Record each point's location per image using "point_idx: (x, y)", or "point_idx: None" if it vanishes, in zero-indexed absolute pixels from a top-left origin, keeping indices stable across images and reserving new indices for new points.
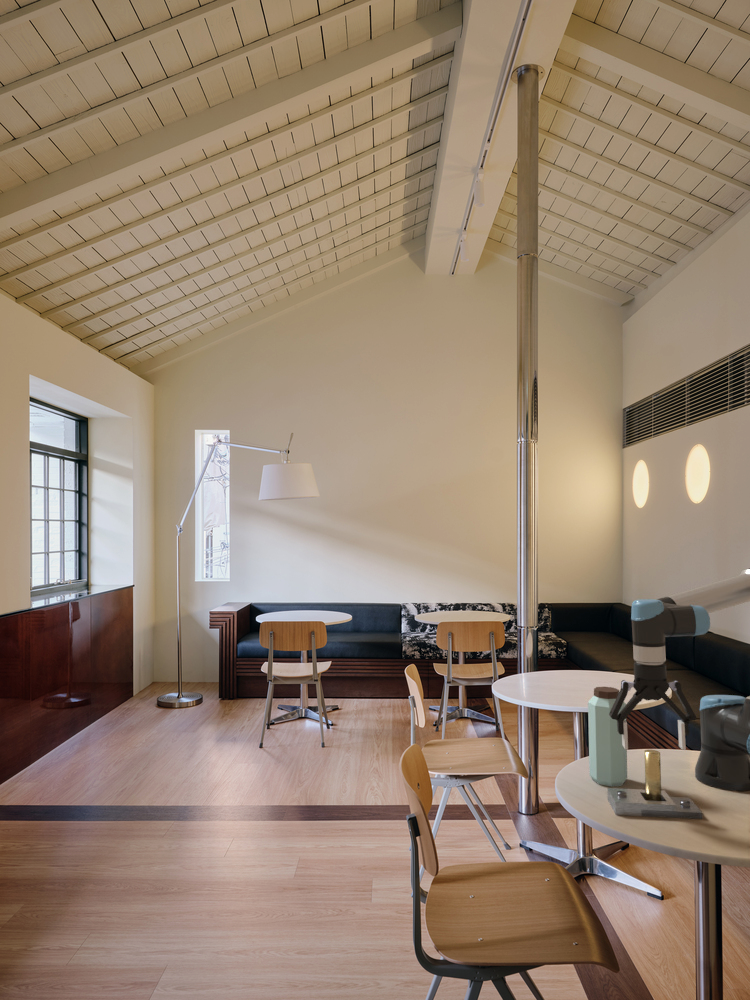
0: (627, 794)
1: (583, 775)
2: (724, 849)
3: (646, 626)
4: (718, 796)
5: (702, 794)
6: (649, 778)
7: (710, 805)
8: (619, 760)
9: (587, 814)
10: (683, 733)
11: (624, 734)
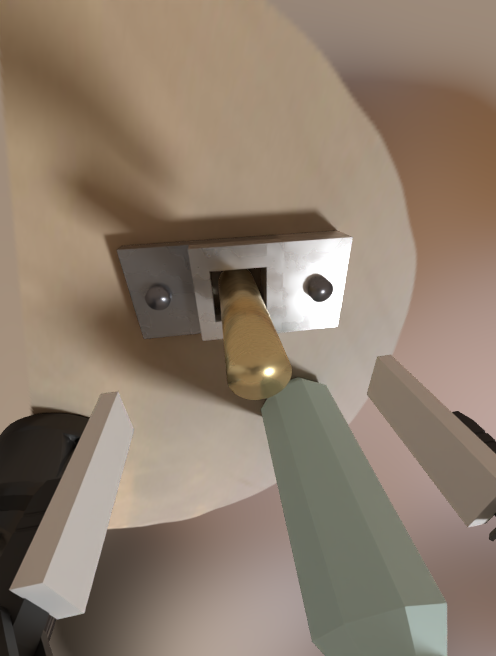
0: (302, 297)
1: None
2: None
3: None
4: (80, 381)
5: (115, 383)
6: (261, 303)
7: (99, 333)
8: (295, 423)
9: (404, 219)
10: (69, 481)
11: (446, 407)
